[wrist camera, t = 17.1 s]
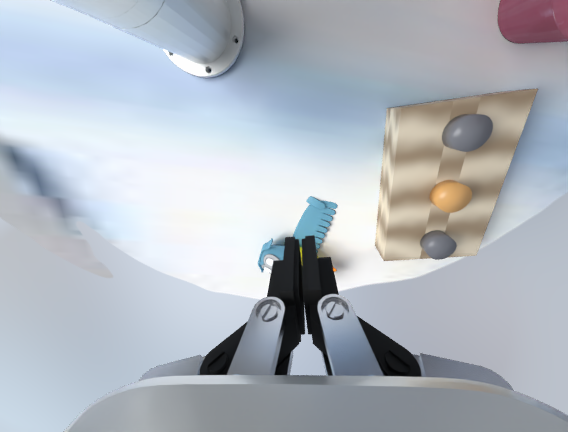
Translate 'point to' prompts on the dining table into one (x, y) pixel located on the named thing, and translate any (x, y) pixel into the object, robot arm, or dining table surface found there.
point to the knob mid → (450, 196)
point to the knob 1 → (438, 244)
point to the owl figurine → (301, 231)
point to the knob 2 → (467, 132)
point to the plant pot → (533, 20)
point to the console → (444, 171)
